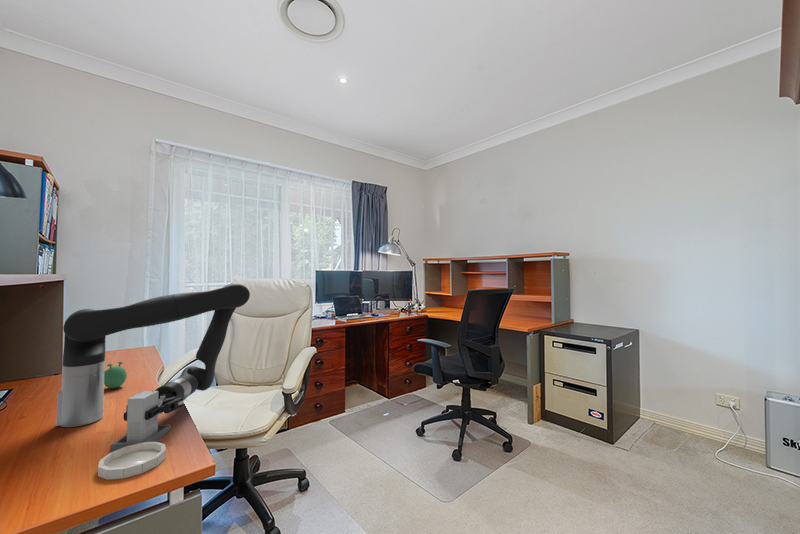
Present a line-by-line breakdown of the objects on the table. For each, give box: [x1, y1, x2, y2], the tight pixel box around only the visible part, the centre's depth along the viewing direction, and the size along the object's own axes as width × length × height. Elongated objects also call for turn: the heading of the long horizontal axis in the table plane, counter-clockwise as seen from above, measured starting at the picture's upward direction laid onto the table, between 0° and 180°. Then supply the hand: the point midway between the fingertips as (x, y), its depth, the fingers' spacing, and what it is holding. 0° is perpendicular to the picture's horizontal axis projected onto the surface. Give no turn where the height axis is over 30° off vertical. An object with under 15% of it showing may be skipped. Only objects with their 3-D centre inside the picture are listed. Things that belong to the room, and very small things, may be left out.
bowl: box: [97, 441, 167, 480], centre depth 77 cm, size 12×12×2 cm
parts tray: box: [110, 424, 171, 452], centre depth 88 cm, size 8×10×2 cm
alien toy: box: [104, 360, 127, 390], centre depth 130 cm, size 7×8×10 cm
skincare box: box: [126, 390, 159, 442], centre depth 88 cm, size 6×4×12 cm
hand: (136, 416), depth 86 cm, fingers closed on skincare box, 4 cm apart
